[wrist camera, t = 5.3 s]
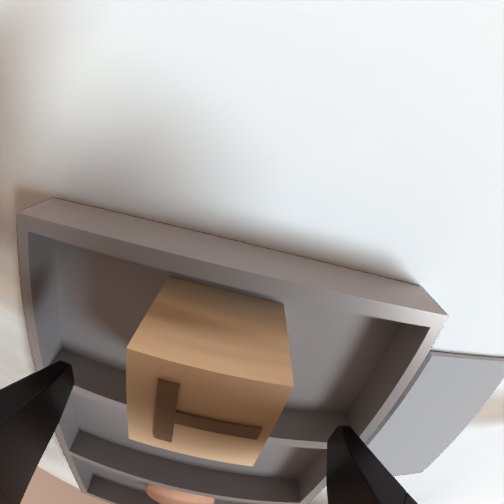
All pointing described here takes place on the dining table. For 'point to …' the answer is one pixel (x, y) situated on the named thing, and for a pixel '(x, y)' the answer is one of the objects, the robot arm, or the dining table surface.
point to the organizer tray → (228, 279)
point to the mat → (434, 410)
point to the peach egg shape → (175, 496)
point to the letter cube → (208, 373)
